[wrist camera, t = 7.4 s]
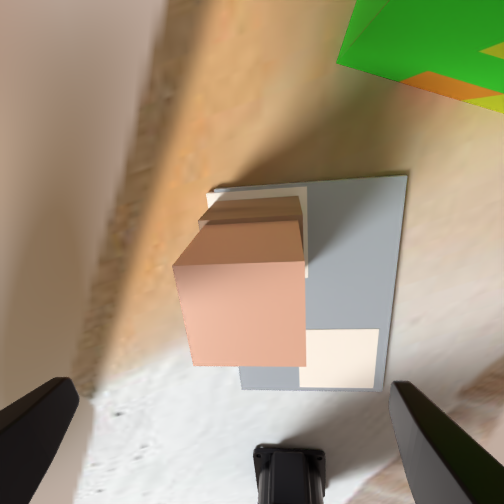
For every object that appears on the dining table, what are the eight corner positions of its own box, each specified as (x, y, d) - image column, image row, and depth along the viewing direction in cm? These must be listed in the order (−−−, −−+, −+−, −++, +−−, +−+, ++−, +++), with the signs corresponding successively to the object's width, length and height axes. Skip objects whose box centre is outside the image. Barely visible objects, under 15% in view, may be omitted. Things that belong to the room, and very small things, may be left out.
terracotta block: (300, 302, 15) (306, 366, 11) (216, 303, 16) (193, 366, 12) (298, 220, 14) (304, 261, 9) (204, 225, 14) (172, 265, 10)
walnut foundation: (300, 271, 19) (304, 305, 15) (225, 274, 20) (212, 307, 16) (298, 195, 17) (302, 214, 13) (215, 201, 18) (198, 220, 14)
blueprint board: (380, 387, 23) (382, 392, 22) (236, 385, 24) (235, 390, 24) (404, 174, 16) (407, 175, 16) (207, 188, 18) (205, 190, 18)
